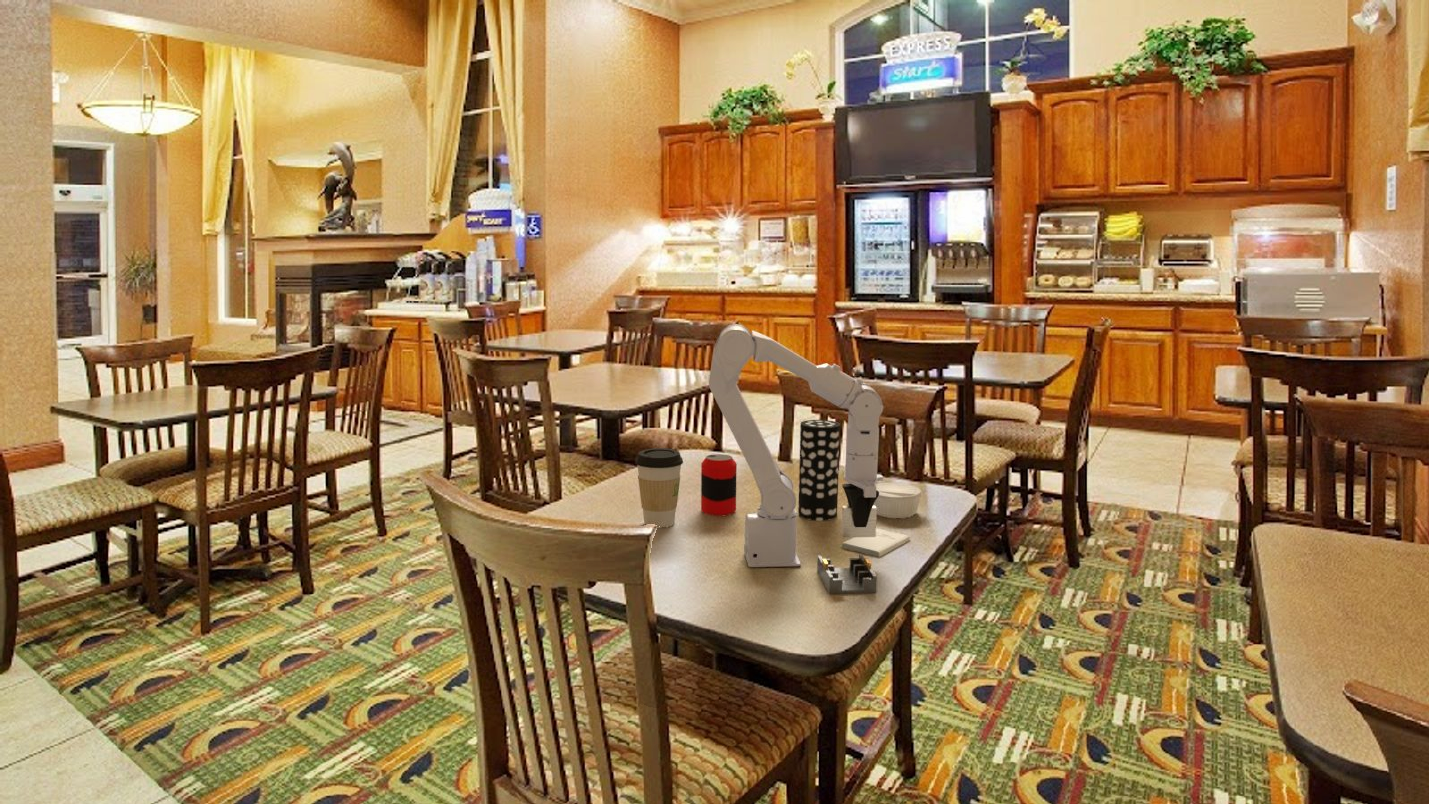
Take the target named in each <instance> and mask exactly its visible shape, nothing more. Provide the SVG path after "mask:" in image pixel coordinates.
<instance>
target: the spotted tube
mask: <svg viewBox="0 0 1429 804" xmlns="http://www.w3.org/2000/svg"><path fill="white" fill-rule="evenodd" d="M799 432H800V433H799V435H800V436H799V462H798V463H799V466H798V467H799V468H798V469H799V470H798V472H799V473H798V504H797V505H798V507H797V509H798V511H797V516H799V517H800V518H802V519H804V520H808V521H817V522H818V521H819V522H822V521H823V522H824V521H831V520H834V519H836V518H837V517H838V501H839V500H838V497H839V470H840V469H839V466H840V443H841V442H840V441H841V440H840V439H841V438H840V437H841V435H840V434H841V423H839V422H837V421H833V420H829V419H828V420H827V419H808V420H803V421H801V422H800V429H799Z"/></svg>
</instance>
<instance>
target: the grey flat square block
mask: <svg viewBox="0 0 1429 804" xmlns="http://www.w3.org/2000/svg"><path fill="white" fill-rule="evenodd" d="M877 516H878V515H877V508H876V507H875V506H873V507H872V509H871V512H870V516H869V520H868V523H867V526H866V527H855V526H854V522H853V514H852V506H849V505H842V510H841V534H840V535H841V536H842V537H843V538H844V539H845V538H850V539H852V538H854V537H876V528H877Z"/></svg>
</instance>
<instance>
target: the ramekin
mask: <svg viewBox="0 0 1429 804" xmlns="http://www.w3.org/2000/svg"><path fill="white" fill-rule="evenodd" d="M876 490H877V491H878V492H879V496H878V498H877V499H876V501H875V502H874V504H873V506H875V507H876V508H877V516H880V517H883V518H886V517H887V519H896V518H901V519H906V518H905V517H909V518H911V517H910V516H912V517H914V516H915V515H914V514H917V511H918V510H919V509H918V508H919V504H920V498H921V496H922V490H921V489H920V488H918V487H917V486H914V485H912V484H911V485H910V484H905V483H898V482H881V483H877V484H876ZM913 515H914V516H913Z"/></svg>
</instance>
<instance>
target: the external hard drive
mask: <svg viewBox="0 0 1429 804" xmlns="http://www.w3.org/2000/svg"><path fill="white" fill-rule="evenodd" d="M910 537H911V536H910V535H907V534H903V533H898V532H894V531H891V530H887V529H882V528H878V527H876V537H852V538H850V539H847V540H845V541H844V542H841V548H842V549H846V550H850V551H854V552H859V553H862V554H865V555H870V556H874V557H878V558H880V557H881V556H883V555H886V554H887V553H889V552H891V551H892V550H895V549H896V548H898V547H900V546H901V544H902V545H904V544H906V543H907V542H909V541H910V540H911V538H910Z"/></svg>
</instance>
